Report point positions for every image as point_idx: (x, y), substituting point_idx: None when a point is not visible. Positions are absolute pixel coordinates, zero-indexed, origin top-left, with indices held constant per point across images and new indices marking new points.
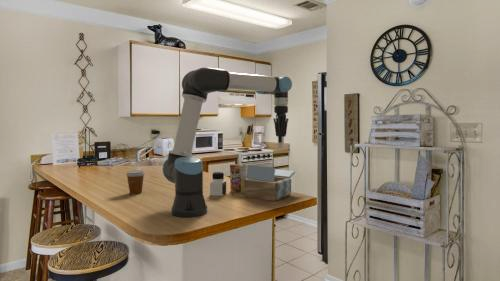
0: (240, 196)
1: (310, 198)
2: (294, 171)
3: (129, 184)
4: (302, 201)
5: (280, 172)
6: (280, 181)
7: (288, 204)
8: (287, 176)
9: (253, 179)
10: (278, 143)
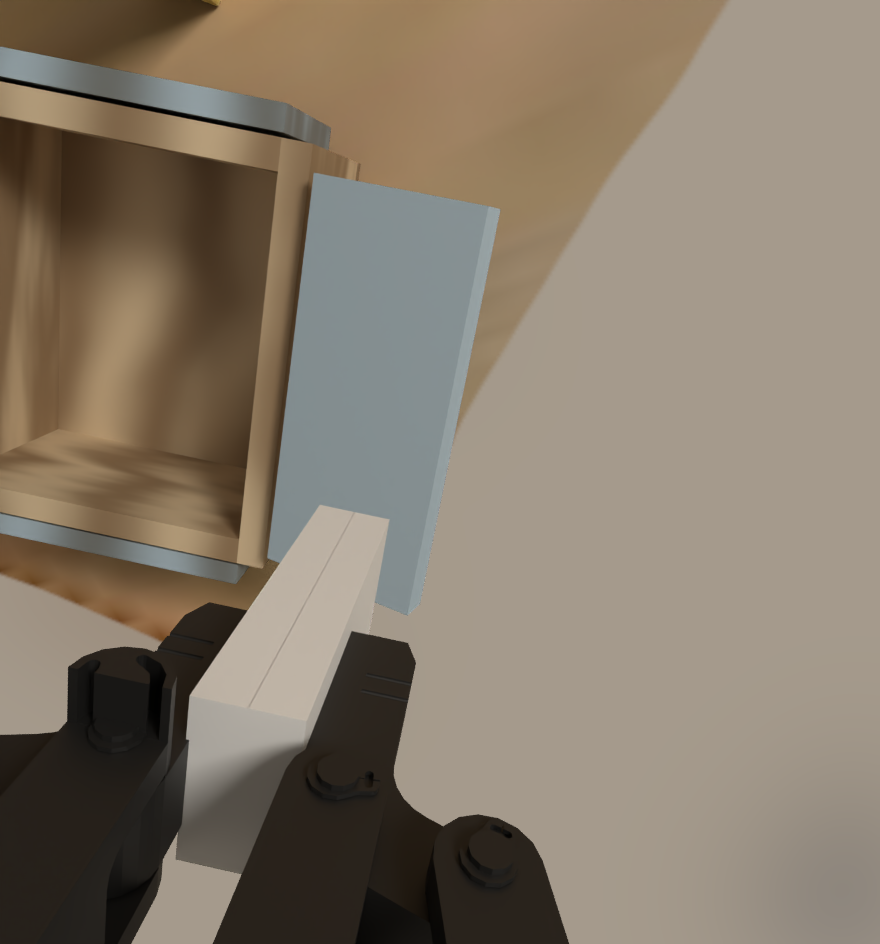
0: (25, 47)
1: None
2: (399, 611)
3: None
4: (154, 636)
5: (363, 427)
6: (45, 520)
7: (16, 566)
8: (271, 539)
9: (67, 129)
10: (278, 569)
